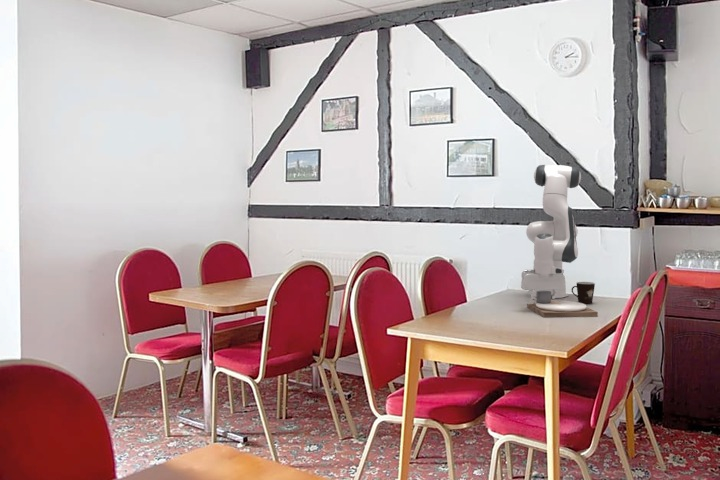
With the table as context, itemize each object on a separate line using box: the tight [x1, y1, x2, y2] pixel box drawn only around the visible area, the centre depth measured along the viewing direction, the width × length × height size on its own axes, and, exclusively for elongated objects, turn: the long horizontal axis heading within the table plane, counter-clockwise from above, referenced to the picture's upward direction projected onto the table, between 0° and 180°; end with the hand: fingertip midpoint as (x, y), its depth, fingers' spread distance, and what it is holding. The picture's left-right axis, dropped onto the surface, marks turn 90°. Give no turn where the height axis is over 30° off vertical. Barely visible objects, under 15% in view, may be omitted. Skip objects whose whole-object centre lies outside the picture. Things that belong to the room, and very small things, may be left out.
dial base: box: [526, 302, 599, 318], centre depth 320 cm, size 24×24×2 cm
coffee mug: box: [571, 281, 596, 305], centre depth 344 cm, size 12×9×10 cm
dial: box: [535, 291, 588, 311], centre depth 320 cm, size 23×22×6 cm
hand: (542, 299), depth 324 cm, fingers open, 8 cm apart
